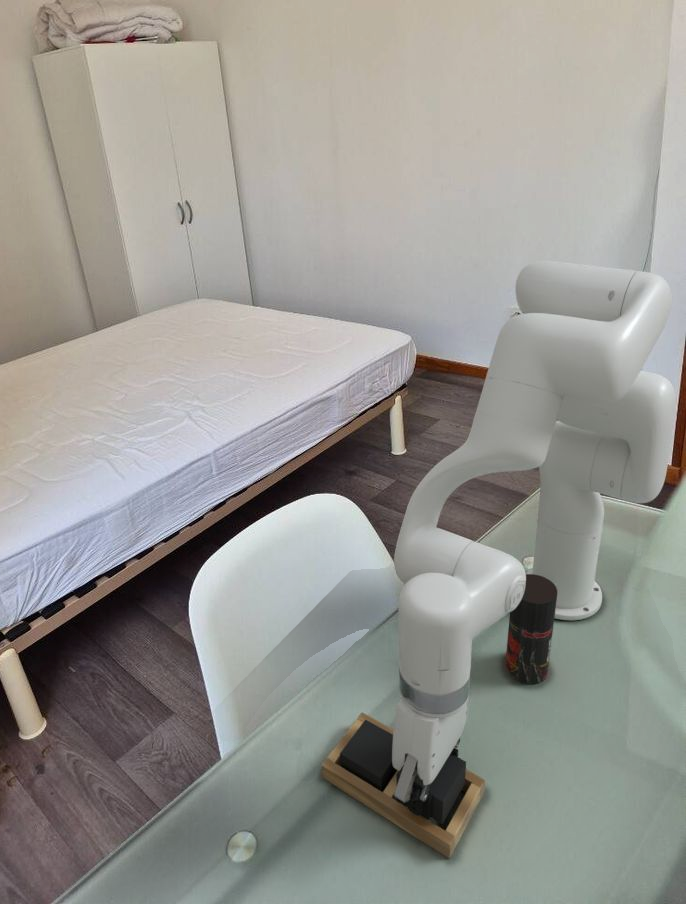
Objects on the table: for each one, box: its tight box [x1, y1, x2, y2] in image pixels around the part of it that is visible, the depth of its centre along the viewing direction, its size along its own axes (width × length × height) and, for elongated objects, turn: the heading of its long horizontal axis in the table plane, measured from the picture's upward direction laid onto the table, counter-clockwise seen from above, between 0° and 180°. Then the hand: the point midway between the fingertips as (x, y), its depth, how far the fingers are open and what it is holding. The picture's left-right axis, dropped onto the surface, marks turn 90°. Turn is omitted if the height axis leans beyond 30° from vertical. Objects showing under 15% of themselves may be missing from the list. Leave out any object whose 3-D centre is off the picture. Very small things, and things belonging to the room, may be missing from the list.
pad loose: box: [396, 754, 467, 825], centre depth 81 cm, size 6×6×4 cm
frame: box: [321, 712, 486, 859], centre depth 85 cm, size 9×18×2 cm, turn 53°
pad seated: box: [340, 720, 397, 792], centre depth 87 cm, size 6×6×4 cm
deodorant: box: [504, 574, 557, 686], centre depth 97 cm, size 6×6×15 cm
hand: (431, 787), depth 82 cm, fingers closed on pad loose, 6 cm apart
